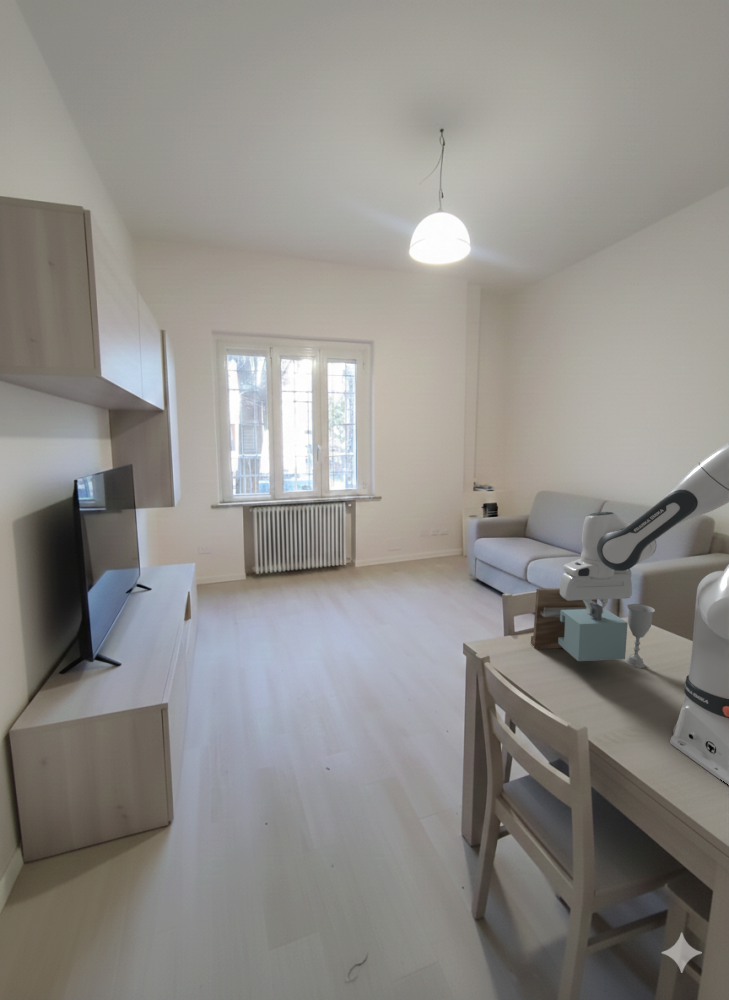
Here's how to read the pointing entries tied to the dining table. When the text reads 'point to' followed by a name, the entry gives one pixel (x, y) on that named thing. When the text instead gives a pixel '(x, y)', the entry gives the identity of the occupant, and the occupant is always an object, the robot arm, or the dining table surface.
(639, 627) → the chalice
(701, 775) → the dining table surface
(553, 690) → the dining table surface
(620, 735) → the dining table surface
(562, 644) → the cabinet
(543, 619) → the wall board
